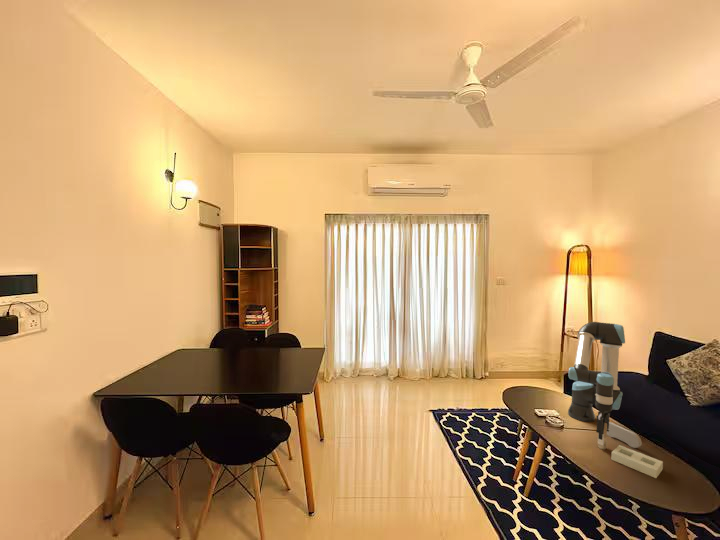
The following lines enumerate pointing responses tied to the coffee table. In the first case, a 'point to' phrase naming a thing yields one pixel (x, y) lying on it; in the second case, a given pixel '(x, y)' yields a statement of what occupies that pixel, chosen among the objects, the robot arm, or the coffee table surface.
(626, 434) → the grey flat oval slab
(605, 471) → the coffee table surface
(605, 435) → the peg
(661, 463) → the socket block
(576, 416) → the robot arm
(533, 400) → the coffee table surface
